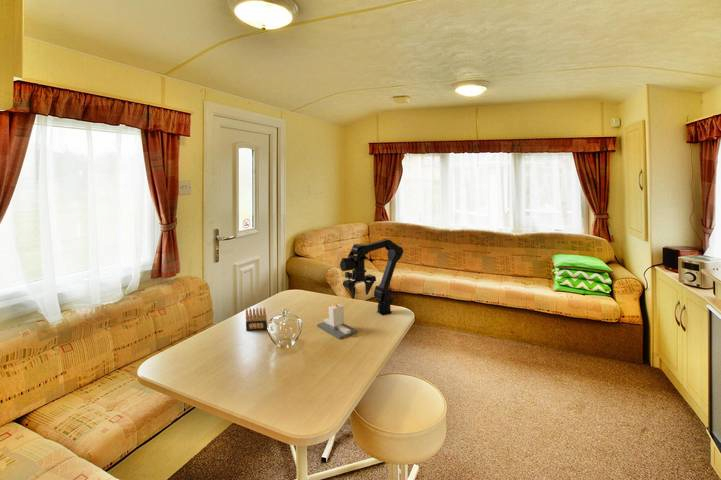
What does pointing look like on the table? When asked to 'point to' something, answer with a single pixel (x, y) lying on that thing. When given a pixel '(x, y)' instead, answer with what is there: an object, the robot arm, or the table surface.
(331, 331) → the mounting board
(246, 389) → the table surface
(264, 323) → the ammunition clip
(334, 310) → the block
